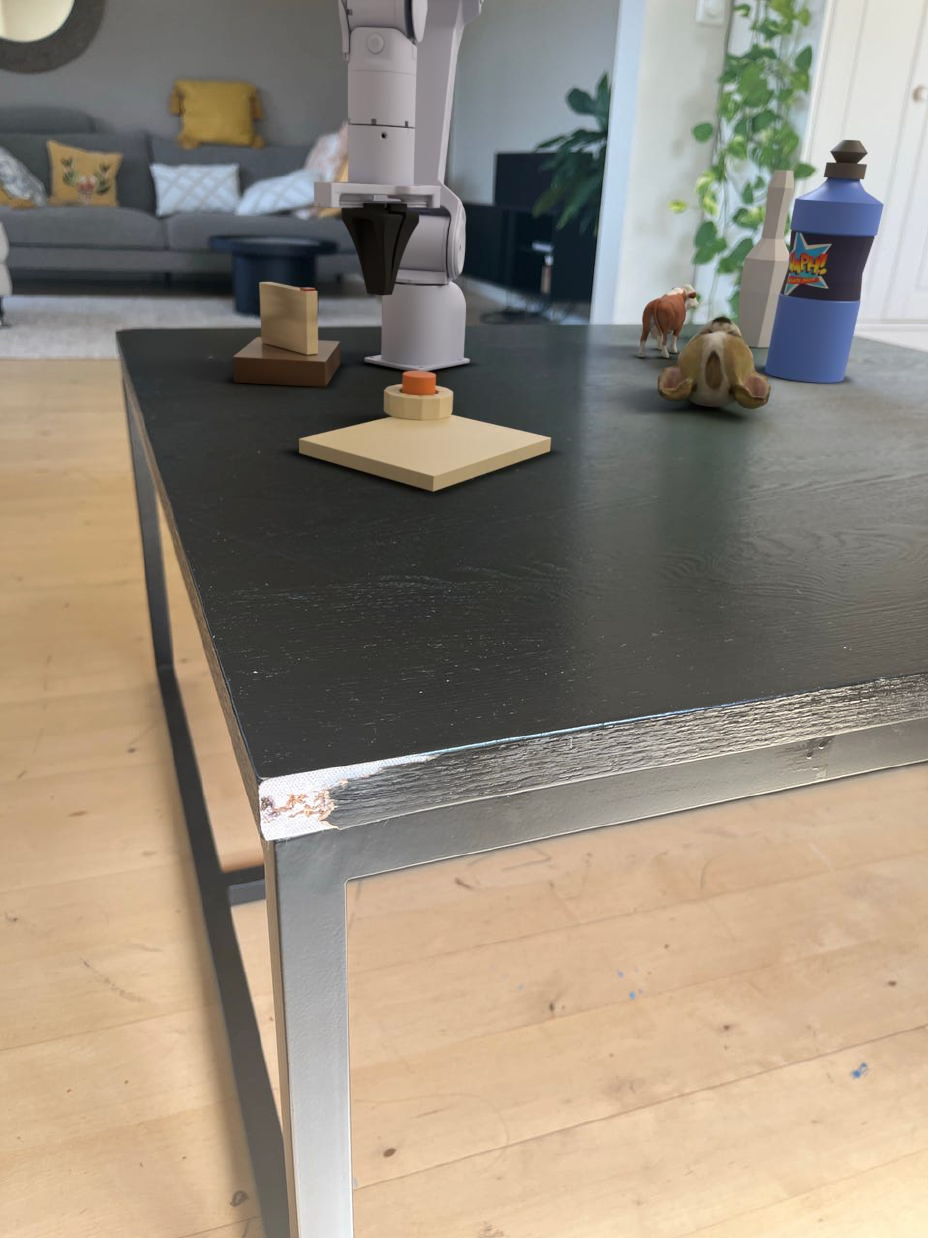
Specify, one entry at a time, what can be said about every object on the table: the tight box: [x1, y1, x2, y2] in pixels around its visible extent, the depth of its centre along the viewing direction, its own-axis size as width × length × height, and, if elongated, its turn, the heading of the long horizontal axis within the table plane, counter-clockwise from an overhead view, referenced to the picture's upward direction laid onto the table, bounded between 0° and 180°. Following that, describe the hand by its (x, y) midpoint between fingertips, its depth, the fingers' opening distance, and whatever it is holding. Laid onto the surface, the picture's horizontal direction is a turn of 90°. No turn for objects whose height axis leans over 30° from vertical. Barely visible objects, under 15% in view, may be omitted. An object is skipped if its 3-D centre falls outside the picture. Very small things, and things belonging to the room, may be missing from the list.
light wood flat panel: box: [258, 281, 319, 355], centre depth 97 cm, size 8×1×6 cm, turn 45°
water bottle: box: [764, 139, 885, 384], centre depth 108 cm, size 9×9×25 cm
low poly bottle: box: [737, 169, 795, 348], centre depth 128 cm, size 6×6×22 cm
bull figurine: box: [637, 283, 700, 359], centre depth 120 cm, size 4×13×8 cm, turn 148°
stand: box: [232, 336, 341, 388], centre depth 98 cm, size 12×9×2 cm
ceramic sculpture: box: [657, 316, 772, 410], centre depth 94 cm, size 11×9×15 cm
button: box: [401, 371, 437, 396], centre depth 80 cm, size 3×3×2 cm
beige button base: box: [298, 383, 552, 492], centre depth 75 cm, size 16×15×3 cm
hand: (379, 293), depth 87 cm, fingers closed
